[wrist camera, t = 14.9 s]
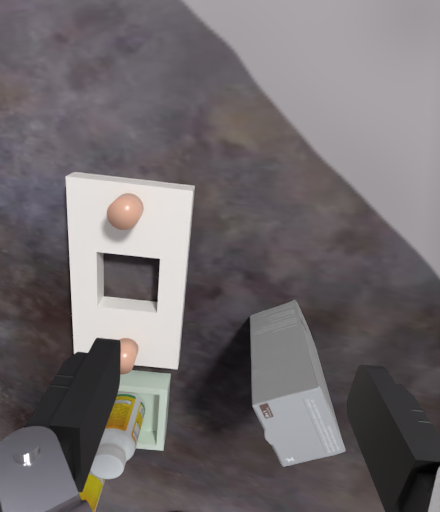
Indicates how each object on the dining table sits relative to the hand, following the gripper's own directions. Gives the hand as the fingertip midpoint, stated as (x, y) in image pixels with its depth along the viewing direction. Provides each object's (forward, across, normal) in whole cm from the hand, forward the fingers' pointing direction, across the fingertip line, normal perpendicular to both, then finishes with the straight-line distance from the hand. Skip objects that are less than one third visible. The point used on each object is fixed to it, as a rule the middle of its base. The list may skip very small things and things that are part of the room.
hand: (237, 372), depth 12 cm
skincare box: (+30, -9, +18) cm, 36 cm away
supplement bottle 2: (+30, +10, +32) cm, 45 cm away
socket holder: (+30, +10, +12) cm, 34 cm away
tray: (+30, +10, +32) cm, 45 cm away
